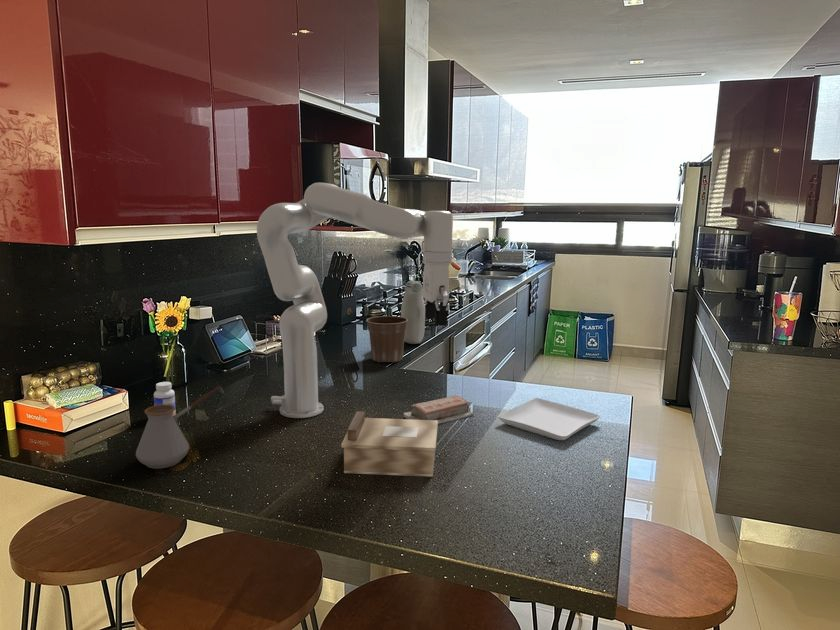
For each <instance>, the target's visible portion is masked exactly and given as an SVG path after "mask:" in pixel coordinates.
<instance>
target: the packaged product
mask: <svg viewBox="0 0 840 630" xmlns="http://www.w3.org/2000/svg"><path fill="white" fill-rule="evenodd" d="M410 409H411V410H410V411H407V412H403V417H404V418H405V419H411V420H438V425H439V424H444V423H448V422H453V421H458V420H460V419H461V420H462V419H463V418H469V416H470V417H473V416H474V412H472V411H469V410H470V406H469V404H468V401H467V400H466V399H465V398H462V397H461V396H458V395H452V396H448V397H442V398H439V399H438V398H437V399H434V400H428V401H424V402H419V403H414V404H412V405H410Z"/></svg>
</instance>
